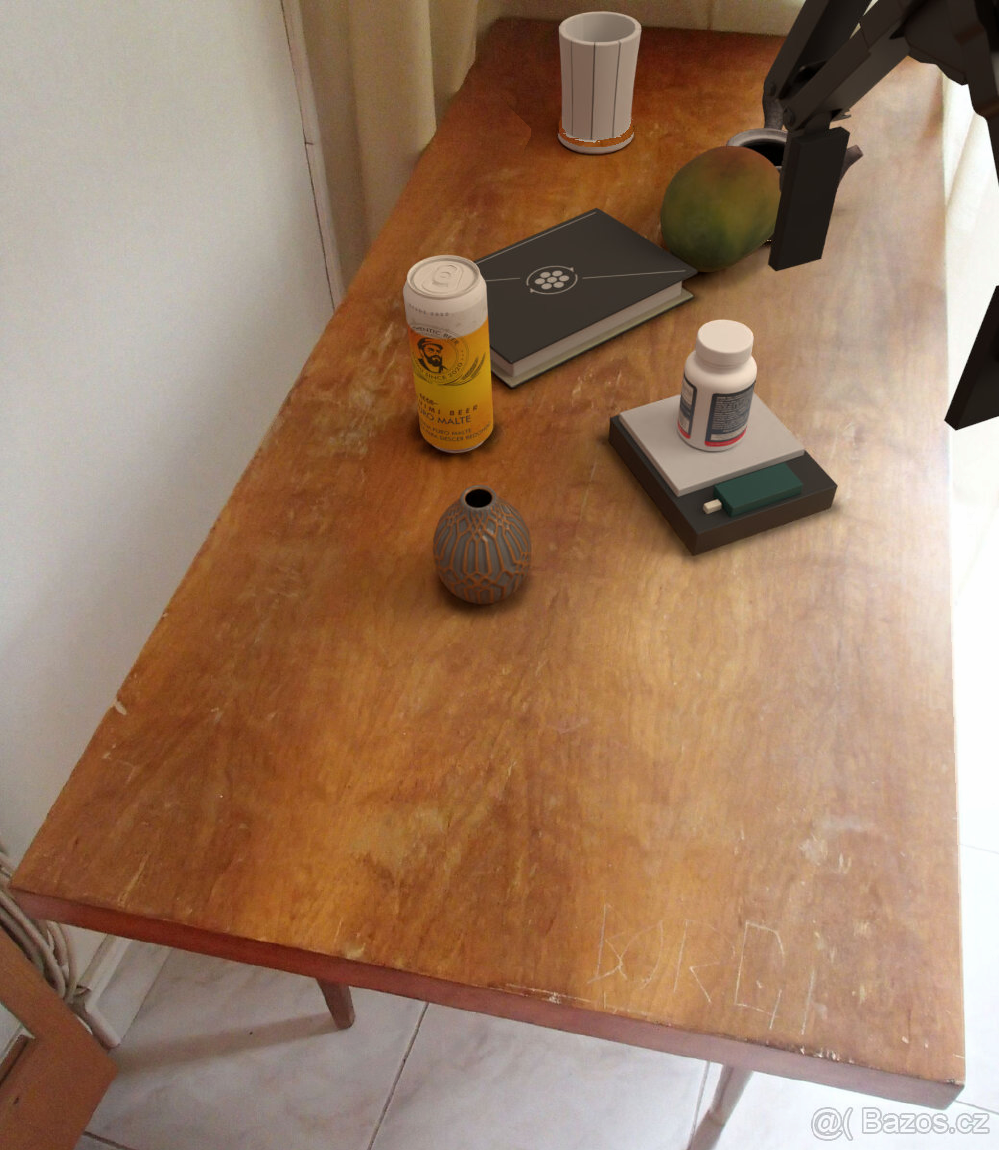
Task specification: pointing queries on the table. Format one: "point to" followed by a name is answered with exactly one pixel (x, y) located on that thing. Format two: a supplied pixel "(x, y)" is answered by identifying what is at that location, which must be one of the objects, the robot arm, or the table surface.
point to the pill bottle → (717, 386)
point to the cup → (597, 77)
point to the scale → (721, 475)
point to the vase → (482, 547)
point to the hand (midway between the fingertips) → (876, 333)
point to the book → (573, 292)
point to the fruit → (720, 207)
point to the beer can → (450, 351)
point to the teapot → (779, 139)
